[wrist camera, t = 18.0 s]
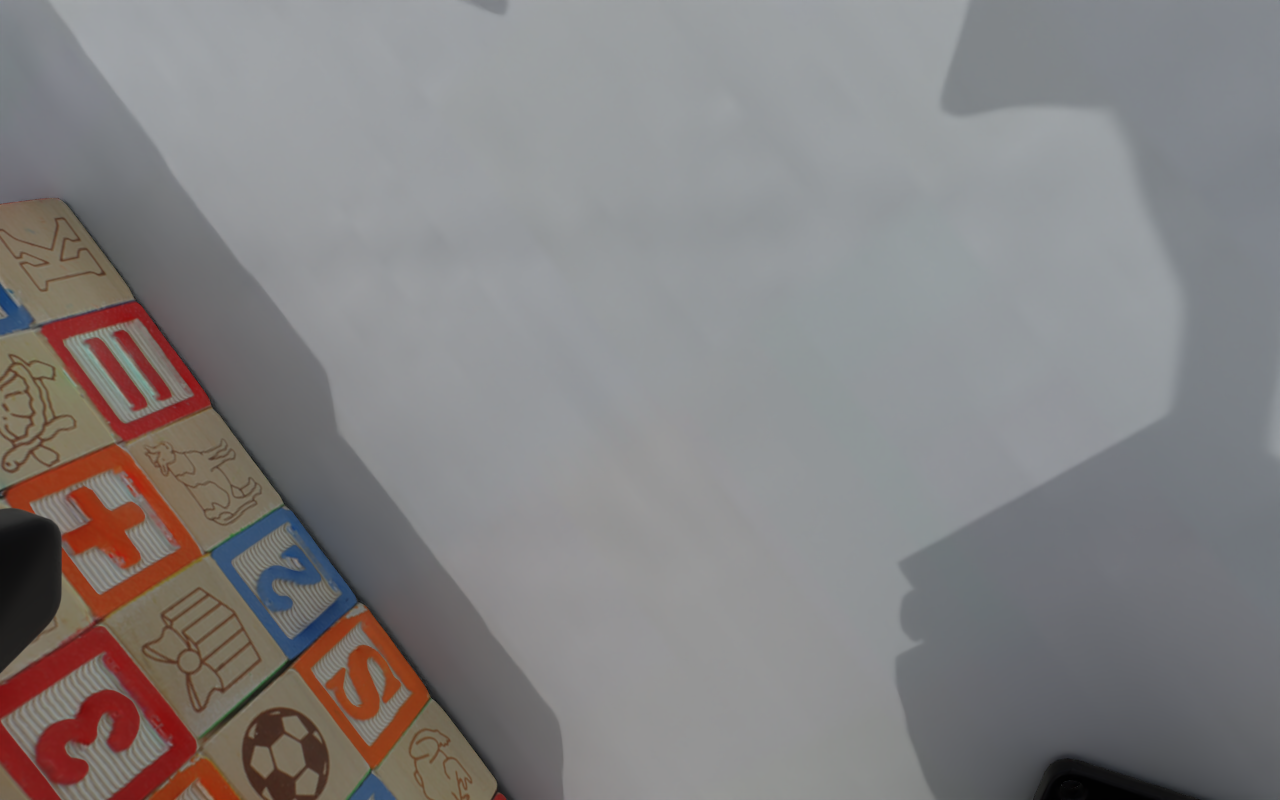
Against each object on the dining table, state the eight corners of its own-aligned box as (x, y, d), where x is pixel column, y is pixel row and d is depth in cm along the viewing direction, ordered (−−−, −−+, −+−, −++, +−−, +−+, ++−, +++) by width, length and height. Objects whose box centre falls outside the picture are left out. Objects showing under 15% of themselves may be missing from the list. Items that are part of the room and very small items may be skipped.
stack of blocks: (579, 873, 25) (321, 1507, 14) (412, 946, 28) (73, 1542, 16) (57, 189, 23) (-753, 279, 12) (-78, 329, 25) (-866, 519, 14)
